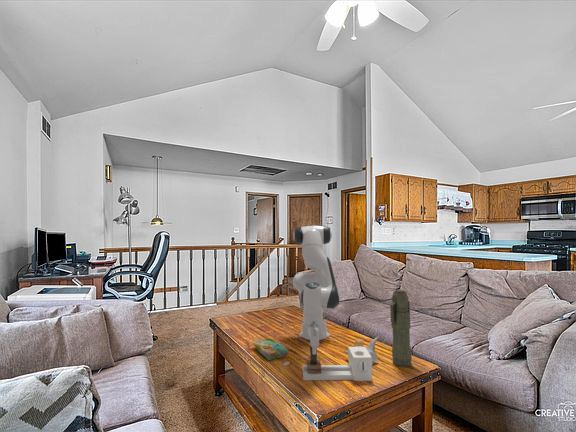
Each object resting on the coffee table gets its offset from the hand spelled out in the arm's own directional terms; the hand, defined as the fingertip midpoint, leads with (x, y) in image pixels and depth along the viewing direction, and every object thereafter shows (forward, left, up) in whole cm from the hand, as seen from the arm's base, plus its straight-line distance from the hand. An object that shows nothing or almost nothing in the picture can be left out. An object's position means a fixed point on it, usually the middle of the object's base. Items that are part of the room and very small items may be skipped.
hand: (313, 349), depth 139 cm
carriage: (0, 0, -9) cm, 9 cm away
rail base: (0, +10, -11) cm, 15 cm away
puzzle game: (-26, -22, -12) cm, 36 cm away
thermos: (-11, +44, -12) cm, 47 cm away
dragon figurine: (-17, +27, -12) cm, 34 cm away
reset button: (0, +21, +2) cm, 21 cm away
